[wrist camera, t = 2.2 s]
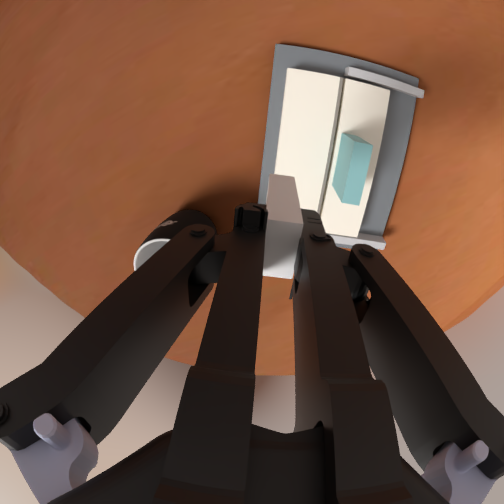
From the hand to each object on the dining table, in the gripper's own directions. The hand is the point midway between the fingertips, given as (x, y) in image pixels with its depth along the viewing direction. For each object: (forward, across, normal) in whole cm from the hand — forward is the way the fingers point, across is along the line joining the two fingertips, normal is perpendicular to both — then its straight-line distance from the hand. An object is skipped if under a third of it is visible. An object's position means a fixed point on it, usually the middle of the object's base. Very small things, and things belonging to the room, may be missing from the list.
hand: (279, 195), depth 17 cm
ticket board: (+17, +7, 0) cm, 18 cm away
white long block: (+15, +8, 0) cm, 18 cm away
